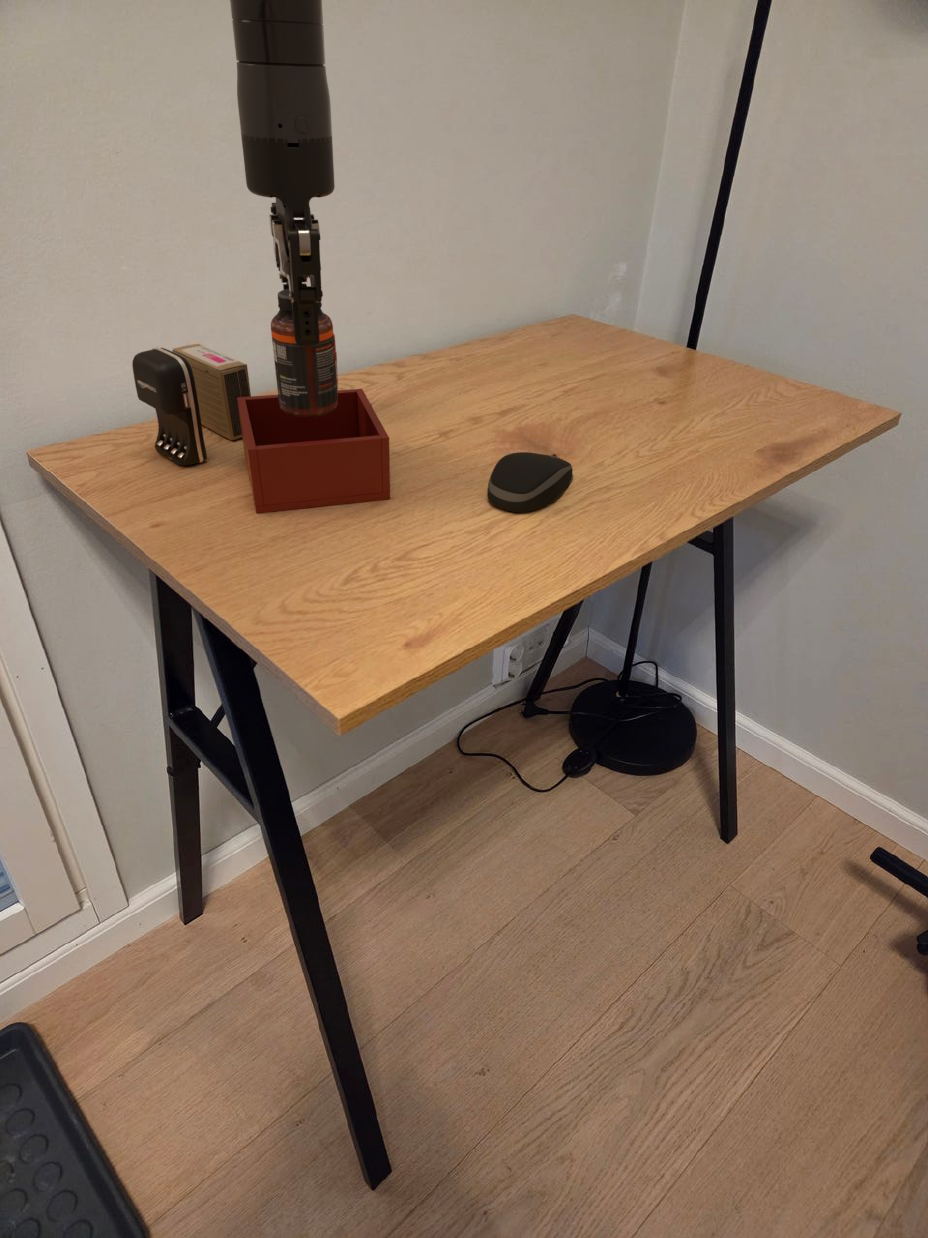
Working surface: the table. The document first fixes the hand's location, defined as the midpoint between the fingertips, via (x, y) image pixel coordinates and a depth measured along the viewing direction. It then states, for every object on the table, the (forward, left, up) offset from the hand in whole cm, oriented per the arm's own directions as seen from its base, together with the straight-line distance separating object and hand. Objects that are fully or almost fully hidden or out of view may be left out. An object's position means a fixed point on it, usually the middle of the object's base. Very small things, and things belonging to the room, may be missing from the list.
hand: (302, 332), depth 76 cm
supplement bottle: (0, 0, -8) cm, 8 cm away
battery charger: (-14, +8, -15) cm, 22 cm away
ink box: (-9, +16, -15) cm, 24 cm away
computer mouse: (+22, -8, -15) cm, 28 cm away
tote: (0, 0, -15) cm, 15 cm away
